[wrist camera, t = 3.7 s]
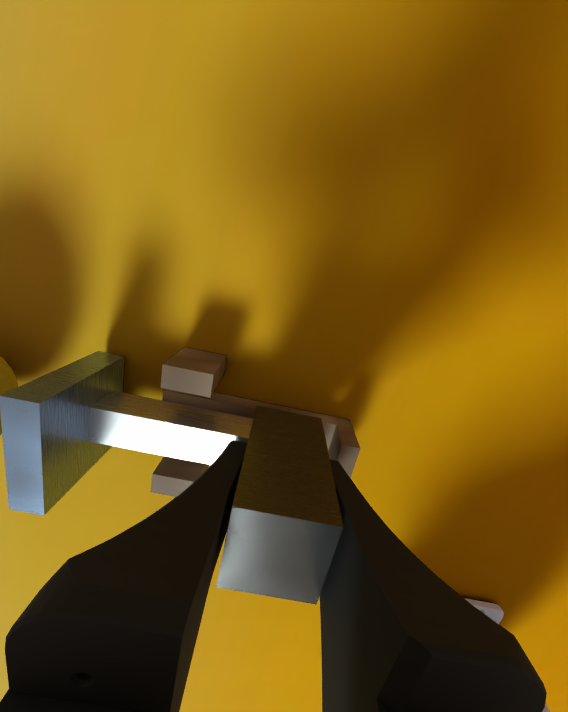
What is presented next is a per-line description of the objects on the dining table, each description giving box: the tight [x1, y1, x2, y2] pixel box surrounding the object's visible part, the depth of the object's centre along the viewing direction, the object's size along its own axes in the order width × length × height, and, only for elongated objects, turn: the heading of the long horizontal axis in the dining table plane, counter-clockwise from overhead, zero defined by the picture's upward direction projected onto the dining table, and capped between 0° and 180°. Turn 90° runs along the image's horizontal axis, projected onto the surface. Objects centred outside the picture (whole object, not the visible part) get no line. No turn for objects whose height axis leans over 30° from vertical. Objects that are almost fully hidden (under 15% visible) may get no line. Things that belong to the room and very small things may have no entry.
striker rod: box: [0, 351, 343, 604], centre depth 11 cm, size 11×4×7 cm, turn 78°
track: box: [151, 347, 360, 497], centre depth 14 cm, size 9×6×2 cm
